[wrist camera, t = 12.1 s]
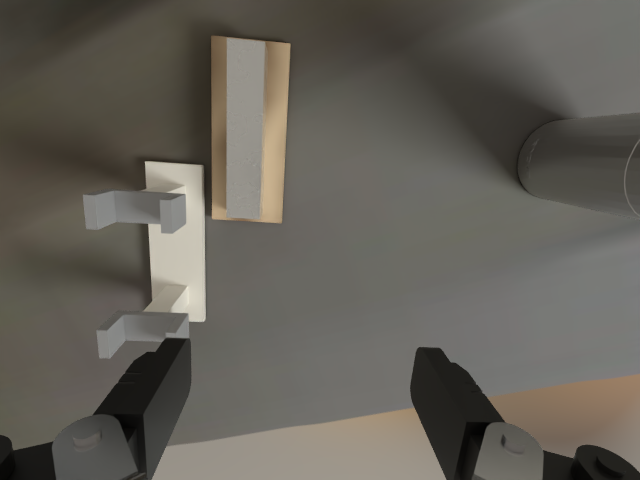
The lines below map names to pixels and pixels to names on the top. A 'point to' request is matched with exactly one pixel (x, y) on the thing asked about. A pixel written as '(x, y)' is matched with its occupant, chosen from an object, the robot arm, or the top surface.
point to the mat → (273, 133)
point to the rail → (246, 127)
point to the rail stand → (159, 251)
